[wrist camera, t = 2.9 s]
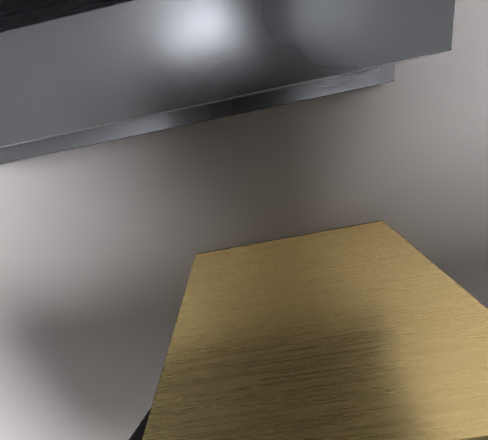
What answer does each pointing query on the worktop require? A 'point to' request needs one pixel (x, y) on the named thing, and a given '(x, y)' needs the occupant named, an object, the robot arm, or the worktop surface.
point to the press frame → (197, 63)
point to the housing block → (324, 345)
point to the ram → (45, 10)
